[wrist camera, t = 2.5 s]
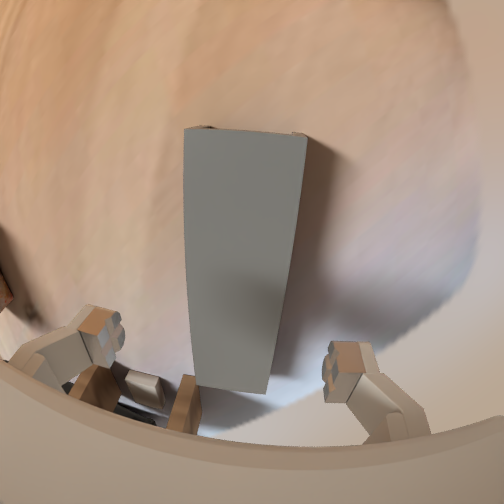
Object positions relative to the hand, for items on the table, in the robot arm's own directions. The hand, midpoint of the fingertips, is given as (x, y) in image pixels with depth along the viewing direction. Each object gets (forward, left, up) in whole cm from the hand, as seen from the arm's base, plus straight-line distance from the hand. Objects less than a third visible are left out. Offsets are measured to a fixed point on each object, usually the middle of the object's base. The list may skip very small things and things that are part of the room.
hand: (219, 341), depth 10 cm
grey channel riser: (+3, 0, -10) cm, 10 cm away
